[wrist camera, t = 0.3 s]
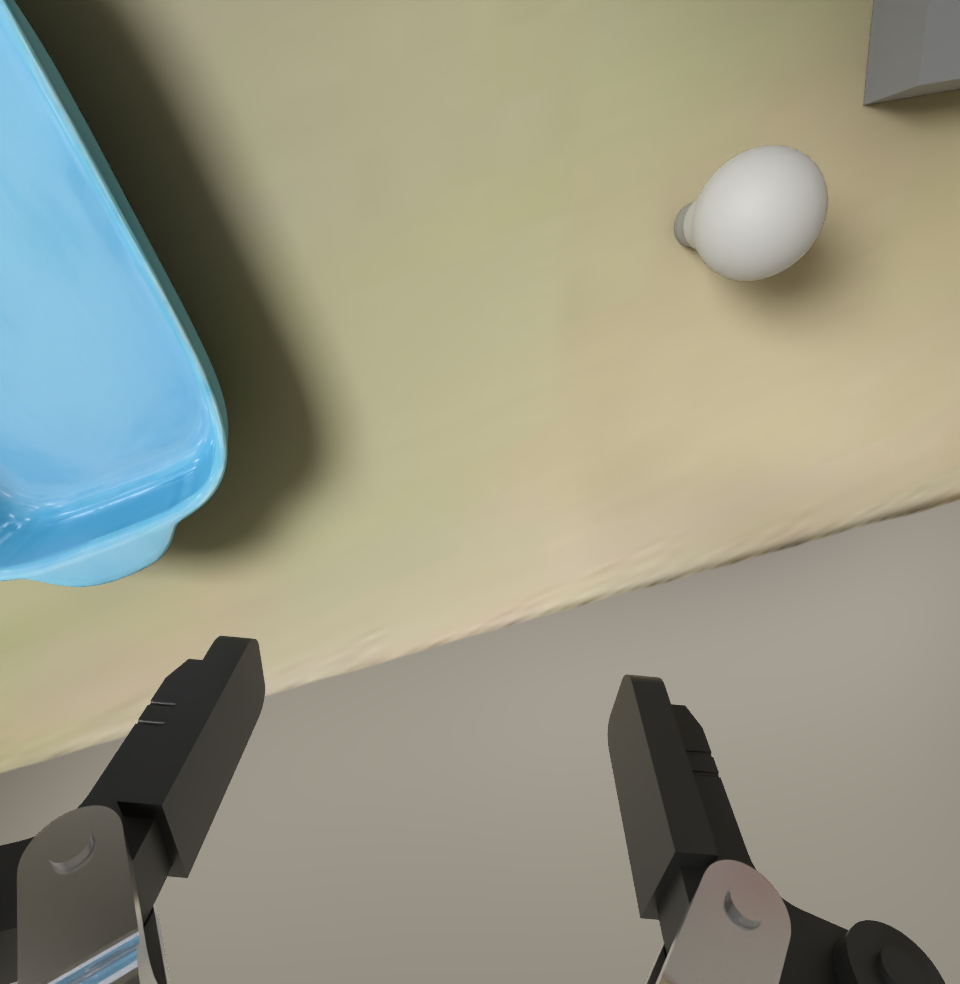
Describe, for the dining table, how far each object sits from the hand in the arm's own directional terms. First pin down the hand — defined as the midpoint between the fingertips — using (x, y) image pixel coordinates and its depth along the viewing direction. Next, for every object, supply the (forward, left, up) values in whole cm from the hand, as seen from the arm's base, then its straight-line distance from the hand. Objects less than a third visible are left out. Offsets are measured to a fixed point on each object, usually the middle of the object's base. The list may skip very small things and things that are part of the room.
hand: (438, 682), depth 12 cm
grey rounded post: (-8, +18, -28) cm, 34 cm away
